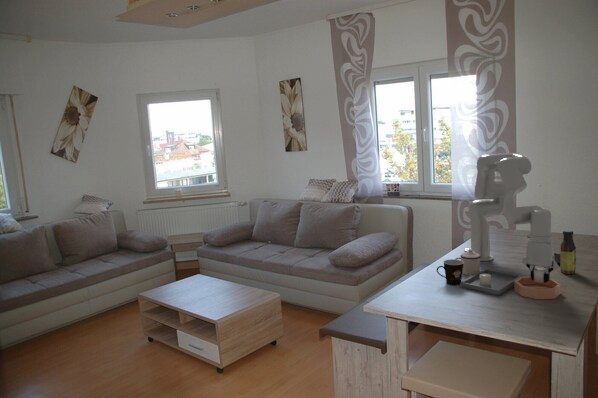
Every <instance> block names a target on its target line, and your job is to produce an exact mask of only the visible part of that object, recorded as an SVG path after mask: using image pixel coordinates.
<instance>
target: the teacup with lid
mask: <svg viewBox="0 0 598 398" xmlns="http://www.w3.org/2000/svg"><path fill="white" fill-rule="evenodd" d="M468 249H469V250H468V251H467V252H462V253H461V254H460V256H457V257H455V258H454V260H461V261H463V262H464V263H463V272H462V275H465V276H469V277H471V276H473V275H475V274H477V273H479V272H480V271H481V261H480V257H481V256H480V254H478V253H475V252H473V250H472V249H471V248H468Z"/></svg>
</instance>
